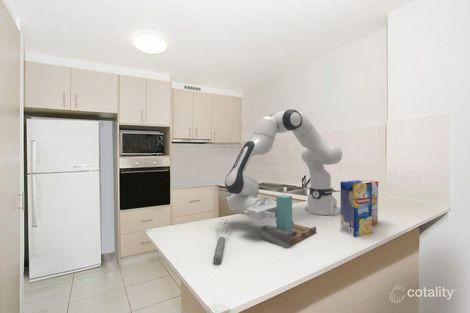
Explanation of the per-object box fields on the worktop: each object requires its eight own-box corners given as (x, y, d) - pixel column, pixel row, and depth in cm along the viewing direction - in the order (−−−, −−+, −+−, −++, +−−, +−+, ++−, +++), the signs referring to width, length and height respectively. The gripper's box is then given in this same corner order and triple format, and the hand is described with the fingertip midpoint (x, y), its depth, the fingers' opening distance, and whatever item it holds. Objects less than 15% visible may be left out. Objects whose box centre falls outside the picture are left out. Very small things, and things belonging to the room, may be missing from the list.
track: (291, 226, 106) (291, 215, 106) (316, 232, 97) (316, 221, 97) (261, 239, 90) (261, 227, 90) (287, 248, 81) (287, 234, 81)
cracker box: (367, 229, 101) (367, 183, 101) (353, 226, 106) (353, 181, 105) (378, 223, 110) (378, 180, 110) (365, 220, 114) (365, 179, 114)
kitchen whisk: (206, 268, 68) (206, 248, 68) (218, 230, 101) (218, 217, 101) (226, 269, 67) (226, 248, 67) (232, 231, 101) (232, 217, 101)
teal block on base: (281, 230, 95) (281, 194, 95) (296, 234, 90) (296, 196, 90) (272, 234, 91) (271, 196, 90) (287, 239, 86) (286, 198, 85)
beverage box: (372, 233, 96) (372, 182, 96) (354, 237, 92) (354, 183, 92) (357, 228, 103) (357, 180, 102) (340, 231, 98) (340, 181, 98)
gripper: (240, 204, 94) (266, 210, 84) (269, 197, 108) (295, 202, 98) (240, 219, 94) (266, 227, 84) (269, 210, 108) (295, 216, 98)
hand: (282, 213), depth 91 cm, fingers open, 8 cm apart
